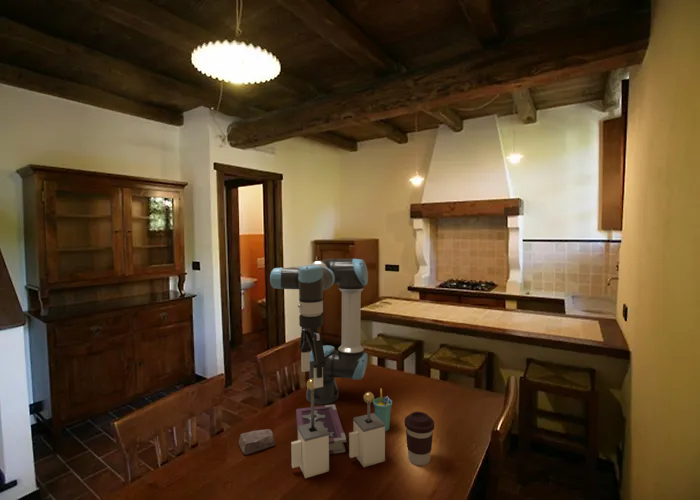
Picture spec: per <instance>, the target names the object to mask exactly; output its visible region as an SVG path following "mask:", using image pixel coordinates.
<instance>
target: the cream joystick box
mask: <svg viewBox="0 0 700 500" xmlns="http://www.w3.org/2000/svg"><path fill="white" fill-rule="evenodd" d="M290 446H291V447H290V448H291V449H290V451H291V457H290V458H291V468H292V469H294V468H298V467H299V468H300V470H301V472H302V474H303V476H304V479H307V478H310V477H315V476H317V475H321V474H325V473H327V472H330V454H329V433H328V431H327V430H326V428H325V427H324V425H323V424H322V422H321V421H317V422H314V432H311V423H309V424H305V425H300V426H298V431H297V440H294V441H291V442H290Z"/></svg>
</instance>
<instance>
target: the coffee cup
mask: <svg viewBox="0 0 700 500" xmlns="http://www.w3.org/2000/svg"><path fill="white" fill-rule="evenodd" d="M403 423H404V427H405V438H406V439H405V440H406V448H407V457H408V458H407V459H408V461H409V462H410V463H412V465H416V466H426V465H428V464H429V463H430V461H431V455H432V454H431V452H432V445H433V430H434V429H435V421H434V419H433V418H432V417H431V416H429V415H428V414H427V413H426V412H423V411H413V412H411V413H410V414H408V415H407V416H405V417H404V422H403Z"/></svg>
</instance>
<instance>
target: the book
mask: <svg viewBox="0 0 700 500" xmlns="http://www.w3.org/2000/svg"><path fill="white" fill-rule="evenodd" d="M295 412H296V413H295V417H296V419H295V420H296V429H297V432H298V426H300V425H305V424H309V423H311V406H310V407H302V408H301V407H300V408H295ZM317 421H321V422H322V424H323V425H324V427H325V428H326V430H327V431H328V433H329V455H331V454H342V453H346V448H345V445H344V443H347V437H346V433H345V431H344V429H343V427H342V423H341V419H340V416H339V413H338V411H337V406H336V404H324V405H321V406H314V422H317Z"/></svg>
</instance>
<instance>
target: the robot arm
mask: <svg viewBox="0 0 700 500" xmlns="http://www.w3.org/2000/svg"><path fill="white" fill-rule="evenodd" d="M368 282H369V272H368V267H367V264H366V262H365V260H364V259H361V258H359V259H358V258H327V259H322V260H317V261H313V262H311V264H305V265H298V266H291V267H275V268H274V267H273V269H272V270H271V272H270V274H269V283H270V285H271V287H272V288H273V289H279V290H298V295H299V296H298V300H299V304H297V308H299V312H298V313H299V317H298V319H299V320H298V321H299V323H298V325H299V326H300V328H301V333H300V338H299V339H300V340H299V344H298V345H299V346H298V347H299V349H300V352H301V354H300V355H301V364H300V365H301V373H305V372H309V379H311V378H314V388H316V389H315V390H314V405H321V406H323V405H330V404H332V403H334V402H336V401H337V400H338V399H339V395H340V393H339V388H338V386H337V382H336V378H339V379H347V380H348V379H349V380H362V379H363V378H364V377H365V373H366V369H367V366H368V358H369V357H368V353H366V352H365V351H364V350H365V349H364V347H363V346H362V345H361V317H362V316H361V313H362V312H361V311H362V310H361V305H362V304H361V299H362V298H361V297H362V295H361V294H362V293H361V292H362V291H363V290H365V286H367V285H368ZM333 285H337V286H338V290H339V291H340V292H341V345H340V346H339V347H337V350H336V348H335V346H333V345H330V344H329V345H327V344H326V345H324V344H323V335H322V332H320V333H319V330H318V329H319V328H321V327H322V326H324V315H323V312H324V300H323V299H324V298H323V296H324V292H323V291H325V290H329V289H330V288H331V287H332V286H333ZM305 399H306V401H307V402H309V403H310V404H311V390H309V389H308V388H307V389H306V393H305Z"/></svg>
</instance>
